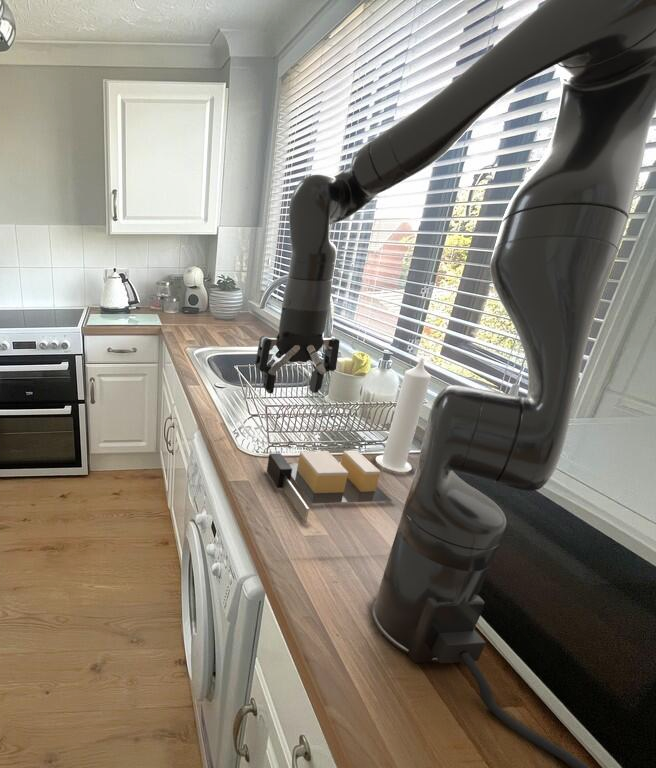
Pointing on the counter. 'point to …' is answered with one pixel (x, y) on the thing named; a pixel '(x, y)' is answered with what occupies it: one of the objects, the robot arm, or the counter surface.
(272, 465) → the knife
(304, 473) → the tan rectangular block
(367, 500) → the board
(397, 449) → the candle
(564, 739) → the counter surface
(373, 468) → the slice
